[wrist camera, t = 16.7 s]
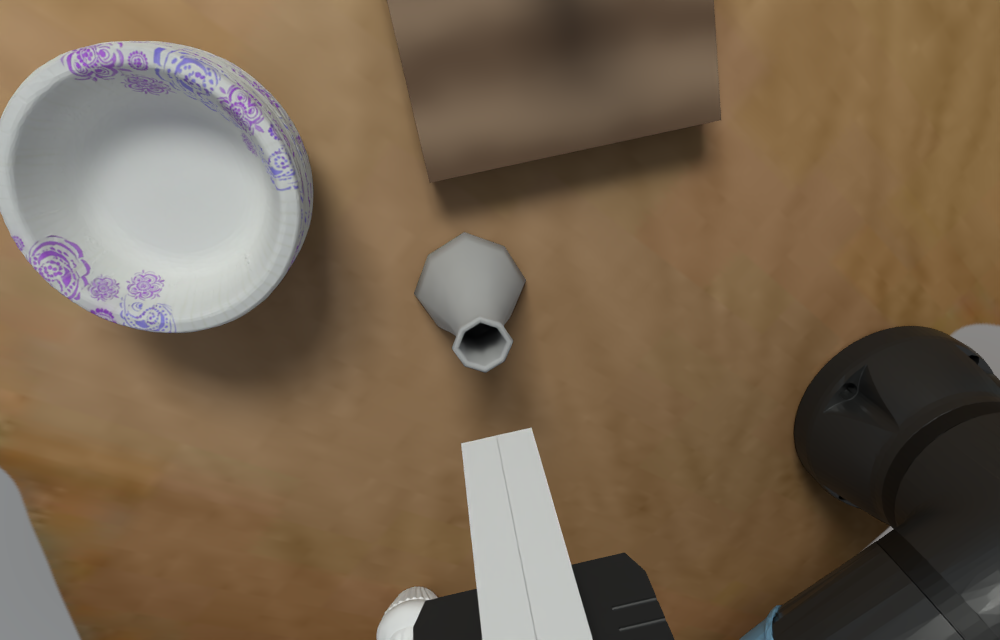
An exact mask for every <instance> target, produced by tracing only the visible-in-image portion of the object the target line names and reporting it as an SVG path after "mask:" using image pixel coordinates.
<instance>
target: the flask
mask: <svg viewBox="0 0 1000 640" xmlns="http://www.w3.org/2000/svg"><path fill="white" fill-rule="evenodd" d="M525 281H526V279H525V278H524V276H523V274H522V273H521V271H520V270H519V268H518V267H517V265H516V264H515V262H514V260H513V259H512V257H511V256H510V254H509V253H508V251H507V250H506V248H505V246H502V245H499V244H497V243H494V242H491V241H488V240H485V239H482V238H480V237H477V236H474V235H471V234H468V233H465V232H464V233H462V234H460V235H459V236H457V237H456V238H454V239H453V240H451V241H449V242H448V243H446V244H445V245H443V246H442V247H440V248H438V249H437V250H435V251H434V252H432V253H431V254H429V255H428V256H427V259H426V262H425V265H424V267H423V270H422V273H421V276H420V278H419V281H418V284H417V287H416V289H415V292H414V294H415V296H416V297H417V298H418V300H419V301H420V302H421V304H422V305H423V307H424V308H425V309H426V311H427V312H428V313H429V315H430V316H431V318H432V319H433V320H434V322H435V323H436V324H437V326H439V327H440V328H442V329H444V330H446V331H448V332H450V333H452V334H453V335H455V336H456V339H455V341H454V344H453V346H452V350H453V351H454V352H455V354H456V355H457V356H458V358H459V359H460V361H461V362H462V363H463V365H464V366H465V367H469V368H472V369H475V370H479V371H482V372H485V373H486V372H488V371H489V370H491V369H493V368H494V367H496V366H498V365H499V364H501V363H503V362H504V361H505V359H506V357H507V355H508V352H509V350H510V348H511V345H512V343H513V339H512V338H511V336H510V335H509V334H508V332H507V331H506V329H505V328H504V324H505V323H506V322H507V321H508V320H509V318H510V317H511V314H512V312H513V310H514V307H515V305H516V303H517V300H518V298H519V295H520V293H521V291H522V288H523V286H524V284H525Z"/></svg>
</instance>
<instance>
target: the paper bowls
mask: <svg viewBox="0 0 1000 640" xmlns="http://www.w3.org/2000/svg"><path fill="white" fill-rule="evenodd" d="M312 210H313V180H312V172H311V167H310V163H309V159H308V155H307V152H306V150H305V147H304V145H303V142H302V140H301V137H300V135H299V133H298V131H297V129H296V127H295V125H294V124H293V122H292V121H291V119H290V118H289V116H288V114H287V113H286V111H285V110H284V109H283V107H282V106H281V105H280V104H279V102H278V101H277V100H276V99H275V98H274V97H273V96H272V95H271V93H270V92H269V91H267V90H266V89H265V88H264V87H263V86H262V85H261V84H260V83H259V82H258V81H257V80H255V79H254V78H253V77H252V76H251V75H249V74H248V73H246V72H245V71H244V70H242V69H241V68H239V67H238V66H236V65H235V64H233V63H231V62H229V61H227V60H226V59H223V58H221V57H219V56H216V55H214V54H212V53H209V52H207V51H204V50H201V49H197V48H193V47H190V46H185V45H180V44H174V43H167V42H157V41H121V42H106V43H99V44H95V45H92V46H87V47H84V48H79V49H76V50H73V51H69V52H67V53H64V54H61V55H59V56H58V57H56V58H54V59H52V60H50V61H48V62H47V63H46V64H44V65H42V66H41V67H39V68H38V69H36V70H35V71H34V72H33V73H32V74H31V75H30V76H29V77H27V79H26V80H25V81H24V82H23V83H22V84H21V85H20V87H19V88H18V89H17V90H16V92H15V93H14V95H13V96H12V97H11V99H10V101H9V102H8V105H7V106H6V108H5V110H4V112H3V114H2V116H1V119H0V212H1V214H2V216H3V219H4V222H5V224H6V226H7V228H8V230H9V232H10V234H11V237H12V238H13V239H14V241H15V243H16V244H17V247H18V248H19V250H20V251H21V252H22V253H23V255H24V256H25V258H26V259H27V261H28V262H29V263H30V264H31V265H32V266H33V267H34V269H35V270H36V271H37V272H38V273H39V274H40V275H41V276H42V277H43V278H44V279H45V280H46V281H47V282H48V283H49V284H50V285H51V286H52V287H53V288H55V289H56V290H58V291H59V292H60V293H61V294H62V295H64V296H65V297H67V298H68V299H70V300H71V301H72V302H74V303H76V304H78V305H79V306H81V307H82V308H84V309H86V310H87V311H89V312H91V313H93V314H95V315H97V316H99V317H101V318H103V319H106V320H108V321H111V322H114V323H117V324H120V325H123V326H128V327H131V328H134V329H139V330H145V331H150V332H162V333H187V332H196V331H200V330H206V329H210V328H213V327H217V326H221V325H223V324H226V323H229V322H231V321H234V320H236V319H238V318H240V317H241V316H243V315H245V314H246V313H248V312H249V311H251V310H252V309H254V308H255V307H256V306H258V305H259V304H260V303H262V302H263V301H264V300H265V299H266V298H267V297H268V296H269V295H270V294H271V293H272V291H273V290H274V289H275V288H276V287H277V286H278V284H279V283H280V282H281V281H282V279H283V278H284V276H285V275H286V273H287V272H288V270H289V268H290V267H291V266H292V264H293V263H294V261H295V259H296V257H297V255H298V253H299V251H300V250H301V247H302V245H303V243H304V240H305V238H306V235H307V232H308V229H309V226H310V221H311V217H312Z"/></svg>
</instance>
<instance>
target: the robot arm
mask: <svg viewBox="0 0 1000 640" xmlns="http://www.w3.org/2000/svg"><path fill="white" fill-rule="evenodd" d="M794 437H795V445H796V449H797V453H798V456H799V458H800V460H801V462H802V464H803V465H804V467H805V468H806V470H807V471H808V472H809V473H810V474H811V475H812V476H813V478H814V479H815V480H816V481H817V482H818V483H819V484H820V485H821V486H822V488H824V489H825V490H826V491H827V492H828V493H829V494H831V495H832V496H834V497H835V498H837V499H838V500H840V501H842V502H844V503H846V504H849V505H851V506H854V507H857V508H860V509H862V510H864V511H866V512H868V513H869V514H870V515H872V516H874V517H875V518H877V519H879V520H881V521H883V522H884V523H886V524H888V525H890V526H891V527H892V528H893V529H894V530H892V531H891V532H889V533H888V534H886V535H885V536H884V537H882V538H881V539H879V540H878V541H876V542H874V543H873V544H872V545H870V546H869V547H867V548H866V549H864V550H863V551H861V552H860V553H859V554H857V555H856V556H854V557H853V558H851V559H850V560H849V561H847V562H846V563H844V564H843V565H841V566H840V567H838V568H837V569H835V570H834V571H832V572H831V573H829V574H828V575H827V576H825V577H824V578H822V579H821V580H819V581H818V582H816V583H815V584H813V585H812V586H810V587H809V588H807V589H806V590H804V591H803V592H801V593H800V594H798V595H797V596H795V597H794V598H792V599H791V600H789V601H788V602H786V603H785V604H783V605H778V606H776V607H774V608H773V609H772V610H771V611H770V613H769V614H768V617H767V618H766V619H764V620H763V621H762V622H761V623H759V624H758V625H757V626H755V627H754V628H753V629H751V630H750V631H749V632H748V633H746V634H745V635H744V636H742V637H741V638H740V639H739V640H1000V380H999V379H998V378H997V377H996V376H995V375H994V374H993V372H992V370H991V369H990V367H989V366H988V364H987V363H986V362H985V361H984V359H982V357H981V356H980V355H979V354H978V353H976V352H975V351H974V350H972V349H971V348H970V347H968V346H966V345H965V344H963V343H962V342H960V341H958V340H956V339H954V338H953V337H951V336H949V335H948V334H945V333H943V332H941V331H938V330H935V329H932V328H927V327H920V326H903V327H895V328H890V329H886V330H882V331H879V332H876V333H873V334H871V335H868V336H866V337H864V338H862V339H860V340H858V341H856V342H854V343H853V344H851V345H849V346H848V347H846V348H845V349H843V350H842V351H841V352H839V353H838V354H837V355H836V356H834V357H833V358H832V359H831V360H830V361H829V362H828V363H827V364H826V365H825V366H824V367H823V368H822V369H821V370H820V371H819V373H818V374H817V375H816V376H815V378H814V379H813V381H812V382H811V383H810V385H809V387H808V388H807V390H806V392H805V394H804V396H803V398H802V400H801V403H800V405H799V408H798V411H797V415H796V420H795V428H794ZM461 445H462V454H463V464H464V473H465V482H466V491H467V501H468V510H469V519H470V529H471V538H472V547H473V557H474V566H475V575H476V585H477V589H474V590H470V591H465V592H461V593H457V594H452V595H448V596H444V597H439V598H435V599H431V600H426V601H425V602H424V604H423V607H422V609H421V611H420V613H419V615H418V618H417V620H416V622H415V624H414V626H413V640H674V638H673V635H672V633H671V630H670V628H669V626H668V623H667V622H666V620H665V616H664V614H663V612H662V609H661V607H660V605H659V602H658V601H657V599H656V595H655V593H654V590H653V588H652V586H651V583H650V581H649V579H648V576H647V574H646V572H645V570H643V569H642V568H641V567H640V566H639V565H638V564H637V563H636V562H635V561H633V560H632V559H631V558H630V557H629V556H628V555H627V554H626V553H621V554H616V555H612V556H608V557H603V558H599V559H595V560H590V561H586V562H582V563H578V564H573V565H571V563H570V559H569V556H568V552H567V549H566V546H565V542H564V539H563V535H562V532H561V528H560V525H559V521H558V518H557V514H556V511H555V508H554V504H553V501H552V497H551V494H550V490H549V487H548V483H547V480H546V476H545V473H544V470H543V466H542V463H541V459H540V456H539V452H538V449H537V445H536V442H535V439H534V435H533V432H532V428H528V429H523V430H519V431H515V432H510V433H506V434H501V435H497V436H493V437H488V438H484V439H479V440H475V441H470V442H466V443H462V444H461Z"/></svg>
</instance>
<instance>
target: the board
mask: <svg viewBox="0 0 1000 640" xmlns="http://www.w3.org/2000/svg"><path fill="white" fill-rule="evenodd" d="M387 2H388V6H389V11H390V15H391V19H392V23H393V28H394V32H395V36H396V41H397V45H398V49H399V53H400V58H401V62H402V66H403V71H404V75H405V79H406V83H407V88H408V92H409V96H410V101H411V105H412V109H413V113H414V118H415V122H416V126H417V130H418V135H419V139H420V143H421V148H422V152H423V156H424V160H425V165H426V169H427V173H428V178H429V182H430V183H431V182H436V181H441V180H445V179H450V178H455V177H459V176H464V175H469V174H473V173H478V172H482V171H487V170H492V169H496V168H501V167H506V166H510V165H515V164H520V163H524V162H529V161H533V160H538V159H543V158H547V157H552V156H557V155H561V154H566V153H571V152H575V151H580V150H585V149H589V148H594V147H598V146H603V145H608V144H612V143H617V142H622V141H626V140H631V139H636V138H640V137H645V136H650V135H654V134H659V133H663V132H668V131H673V130H677V129H682V128H687V127H691V126H696V125H701V124H705V123H710V122H714V121H719V120H721V110H720V94H719V78H718V62H717V46H716V30H715V14H714V0H387Z"/></svg>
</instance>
